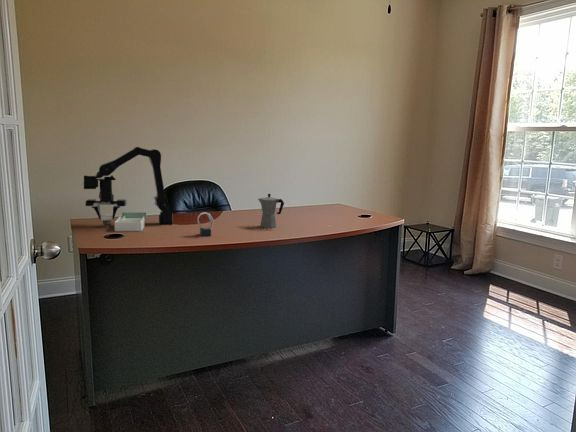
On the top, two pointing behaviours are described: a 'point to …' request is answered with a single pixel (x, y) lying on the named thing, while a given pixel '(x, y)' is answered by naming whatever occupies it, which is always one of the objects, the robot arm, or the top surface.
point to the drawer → (133, 216)
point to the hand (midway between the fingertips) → (106, 219)
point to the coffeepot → (269, 211)
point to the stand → (107, 223)
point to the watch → (207, 230)
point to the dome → (106, 217)
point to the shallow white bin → (129, 225)
